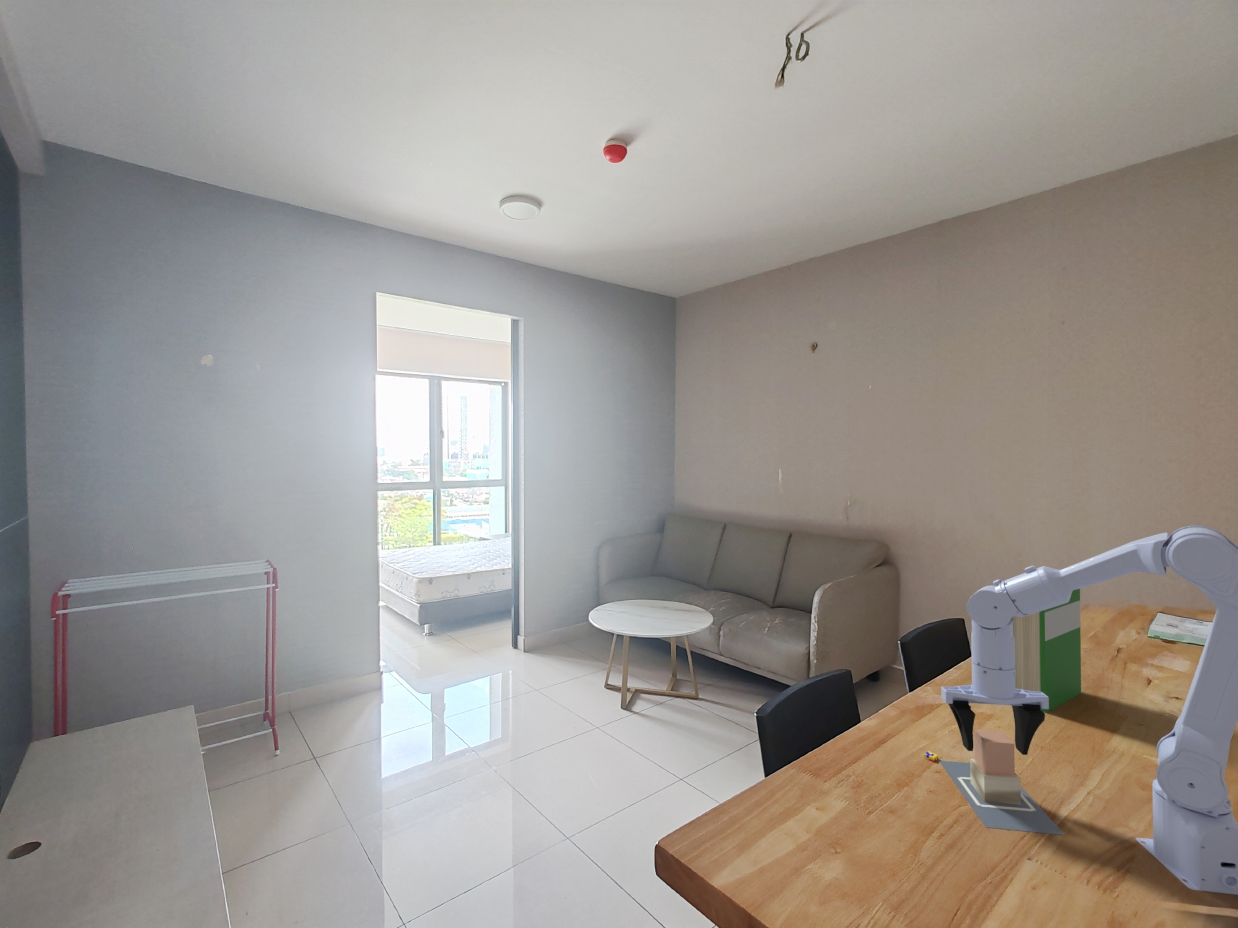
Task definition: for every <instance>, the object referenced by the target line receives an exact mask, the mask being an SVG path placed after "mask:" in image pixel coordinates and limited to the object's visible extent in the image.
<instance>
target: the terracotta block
mask: <svg viewBox="0 0 1238 928" xmlns="http://www.w3.org/2000/svg"><path fill="white" fill-rule="evenodd" d="M973 751H974V754H973V755H974V759H975V761H976V762H977V764H978V765H979V766H980V767H981V768H982V770H983V771H984V772H985V773H986V774H996V775H1008V776H1015V773H1016V772H1015V767H1016V766H1015V742H1014V741H1012V739H1010V738H1009V737H1008V736H1007V735H1006V734H1005V733H1004V732H1003V731H1002V730H990V729H989V730H988V729H974V728H973Z"/></svg>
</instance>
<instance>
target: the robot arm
mask: <svg viewBox="0 0 1238 928" xmlns="http://www.w3.org/2000/svg"><path fill="white" fill-rule="evenodd" d="M1168 534H1169V533H1168V532H1161V533H1157V534H1155V535H1150V536H1147V537H1143V538H1140V539H1137V540H1136V539H1135V540H1132V541H1130V542H1127V543H1125V544H1123V545H1120V546H1117V547H1114V548H1112V549H1109V550H1107V551H1105V552H1103V553H1099V554H1098V555H1095V556H1093V557H1090V558H1087V559H1084V560H1082V561H1079V562H1077V563H1075V564H1071V565H1069V566H1067V567H1065V568H1062V569H1058V568H1053V567H1050V566H1046V565H1041V566H1040V567H1038V568H1037V567H1036V566H1035V565H1030V566H1027V567H1025V568H1024V572H1023V573H1021V574H1018V575H1015V576H1013V577H1010V578H1007V579H1005V580H1002V579H1000V578H997V579H996V580H994V581H992V585H986V586H985V585H984V587H981V588H980V589H978V590H977V591H975V592H974V593H973V594H972V595H970V597H969V598H968V600H967V603H966V611H967V613H968V616H969V617H970V619H971V632H970V634H971V635H970V638H971V639H970V643H971V645H970V646H971V647H970V648H971V649H970V650H971V684H967V685H955V686H941V687H940V689H941V690H940V694H941V695H940V696H941V697H940V698H941V700H942V701H943V702H944V703H945V704H947V705H948V707H949V708H950V711H951V712H952V714H953V717H954V719H955V721H956V723H957V726H958V727H957V728H958V729H959V733H960V737H961V741H962V746H963V747H964V748H965V749H966V751H968V752H973V751H974V724H975V718H976V712H974V711H973V710H972V706H971V705H970V704H979V705H981V704H982V705H996V706H997V705H999V706H1001V705H1002V706H1011V708H1012V712H1013V714H1012V715H1013V719H1014V746H1015V749H1016V750H1017V751H1018V752H1019V753H1020V754H1021V755H1023V756H1027V755H1028V754H1029V750H1030V749H1029V748H1030V746H1031V743H1032V739H1033V738H1034V736H1035V734H1036V732H1037V730H1038V729H1039V728H1040V726H1041V725H1042V724H1043V723H1044V721H1045V718H1046V713H1044V712H1042V711H1041V709H1049V697H1048V696H1046V695H1045V694H1044V693H1042V692H1037V691H1028V690H1022V689H1016V688H1015V638H1014V636H1013V621H1012V620H1011V619H1012V618H1013V617H1014V616H1018V617H1025V616H1028V615H1031V614H1034V613H1037V612H1040V611H1043V610H1046V609H1049V608H1053V607H1056V606H1059V605H1062V604H1065V603H1068V602H1069V600H1070V597H1071V594H1072V591H1073V590H1076V589H1079V588H1080V589H1082V588H1086V587H1089V586H1092V585H1096V584H1098V583H1103V582H1105V581H1108V580H1112V579H1116V578H1118V577H1123V576H1125V575H1129V574H1132V573H1136V572H1139V573H1145V574H1152V575H1158V576H1165V577H1166V576H1167V568H1170V569H1171V571H1172V572H1174V573H1175V574H1176V575H1177V576H1179V577H1181V578H1182V579H1183V580H1185V581H1186V582H1188V583H1190V584H1192V585H1194V586H1195V587H1197V588H1198V589H1200V590H1202V593H1203V594H1204V595H1205V596H1206V598H1208V600H1210V601H1211V603H1212V604H1213V605H1214V606H1215V607H1216V611H1215V614H1214V617H1213V620H1212V623H1211V626H1210V628H1209V631H1208V635H1207V637H1206V641H1205V643H1204V646H1203V649H1202V653H1201V655H1200V658H1199V662H1198V663H1197V666H1196V669H1195V673H1194V676H1193V678H1192V681H1191V684H1190V687H1189V690H1188V693H1187V696H1186V699H1185V702H1184V704H1183V708H1182V711H1181V714H1180V715H1179V717H1178V718H1177V719H1176V722H1175V724H1174V727H1173V729H1172V731H1171V732H1169V733H1168V734H1166V735H1165V736H1162V738H1160V739H1159V741H1158V742H1157V745H1156V754H1157V757H1158V759H1157V760H1158V761H1157V762H1158V763H1157V765H1158V766H1157V768H1156V772H1155V774H1156V776H1155V779H1153V780H1152V783H1151V784H1152V789H1151V791H1152V838H1145V837H1135V840H1136V841H1137V842H1138V843H1140V845H1141V846H1143V848H1144V849H1146V851H1148V852H1149V853H1150V854H1151V855H1152V856H1153V857H1154V858H1156V859H1157V861H1159V862H1160V863H1161V864H1162V865H1163V866H1164V867H1165V868H1166V869H1167V870H1168V871H1169V872H1170V873H1171V874H1172V875H1174V876H1175V877H1176V878H1177V879H1178V880H1179V881H1180V882H1181V883H1183V884H1184V886H1186V887H1187V888H1189V889H1191V890H1193V891H1201V892H1208V893H1209V892H1210V893H1219V894H1229V895H1237V896H1238V821H1237V820H1236V818H1235V817H1234V814H1233V810H1232V803H1231V800H1230V799H1229V788H1228V786H1227V783H1226V781H1225V772H1226V769H1227V766H1228V762H1229V752H1230V746H1231V740H1232V737H1233V735H1234V732H1235V730H1236V726H1237V724H1238V546H1237V544H1235V543H1234V542H1233V541H1232V540H1230V539H1229V537H1227V536H1226V535H1225V534H1223V533H1221V532H1220V531H1218V530H1217V529H1214V528H1213V527H1209V526H1204V525H1188V526H1182V527H1180V528H1178V529H1176V530H1174V531H1173V532H1172V533H1170V535H1168ZM1184 880H1185V881H1184Z"/></svg>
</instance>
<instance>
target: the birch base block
mask: <svg viewBox="0 0 1238 928" xmlns="http://www.w3.org/2000/svg"><path fill="white" fill-rule="evenodd" d="M969 763H970V780H971V784H972V786H973V787H974V788H975V790H976V791H977V792H978V793H979V795H980V796H981V797H982V799H983V800H984V801H985V802H995V803H1007V804H1018V805H1021V787H1022V785H1021V778H1020V776H1019V775H1018V774H1017V773H1016V772H1015V776H1008V775H996V774H986V773H985V772H984V771H983V770H982V768H981V767H980V766H979V765H978V764H977V762H976V761H975V758H970V759H969Z"/></svg>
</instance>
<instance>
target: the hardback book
mask: <svg viewBox="0 0 1238 928" xmlns="http://www.w3.org/2000/svg"><path fill="white" fill-rule="evenodd" d="M1011 620H1012V621H1013V636H1014V638H1015V688H1016V689H1022V690H1028V691H1037V692H1042V693H1044V694H1045V695H1046V696H1048V697H1049V709H1041V711H1042V712H1044V713H1045V714H1047V713H1049V712H1050V710H1051V711H1052V710H1054V709H1056V708H1057V707H1059V706H1061V705H1063V704H1065V703H1067V702H1068V701H1070V700H1072V699H1074V698H1075V697H1077V696H1079V695H1081V694H1082V654H1081V650H1082V648H1081V647H1082V646H1081V644H1082V643H1081V640H1082V639H1081V588H1079V589H1076V590H1073V591H1072V594H1071V597H1070V600H1069V602H1068V603H1065V604H1062V605H1059V606H1056V607H1053V608H1049V609H1046V610H1043V611H1040V612H1037V613H1034V614H1031V615H1028V616H1025V617H1018V616H1014V617H1013V618H1012V619H1011Z"/></svg>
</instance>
